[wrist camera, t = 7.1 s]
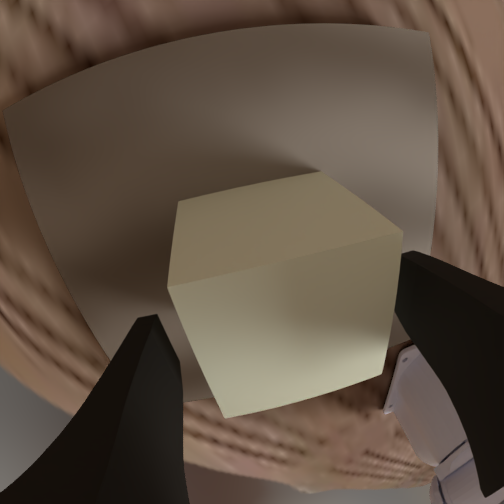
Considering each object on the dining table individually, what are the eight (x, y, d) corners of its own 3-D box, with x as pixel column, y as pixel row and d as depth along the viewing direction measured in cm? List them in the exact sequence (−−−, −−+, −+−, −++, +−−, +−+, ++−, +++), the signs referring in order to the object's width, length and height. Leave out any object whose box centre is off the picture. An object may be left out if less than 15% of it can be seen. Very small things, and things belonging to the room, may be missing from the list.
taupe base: (394, 313, 18) (413, 338, 16) (146, 374, 17) (144, 407, 15) (394, 37, 10) (428, 32, 8) (33, 105, 9) (2, 110, 7)
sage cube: (328, 286, 13) (381, 374, 9) (212, 314, 13) (225, 418, 8) (321, 171, 10) (403, 231, 6) (178, 201, 10) (167, 287, 6)
